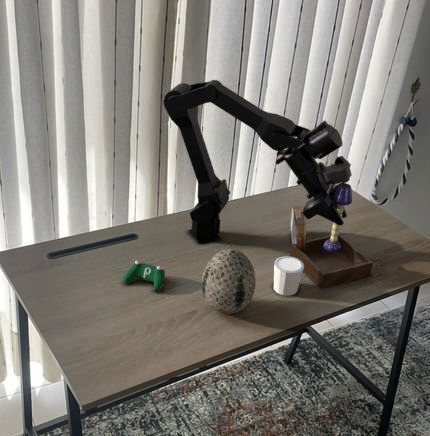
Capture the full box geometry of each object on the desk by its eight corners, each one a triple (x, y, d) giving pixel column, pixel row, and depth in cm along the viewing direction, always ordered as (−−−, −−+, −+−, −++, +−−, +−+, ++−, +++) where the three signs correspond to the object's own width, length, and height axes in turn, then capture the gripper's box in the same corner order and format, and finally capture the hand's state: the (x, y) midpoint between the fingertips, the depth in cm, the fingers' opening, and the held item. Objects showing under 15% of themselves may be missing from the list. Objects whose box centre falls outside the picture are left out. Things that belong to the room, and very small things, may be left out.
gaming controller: (162, 294, 157) (170, 270, 157) (158, 291, 153) (165, 266, 154) (126, 285, 159) (133, 261, 159) (121, 281, 155) (129, 257, 156)
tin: (304, 258, 170) (309, 229, 165) (291, 257, 169) (296, 228, 164) (299, 227, 182) (303, 200, 177) (287, 226, 182) (292, 199, 177)
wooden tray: (321, 288, 160) (323, 274, 158) (289, 257, 170) (291, 243, 168) (369, 275, 165) (373, 262, 163) (336, 246, 176) (339, 233, 173)
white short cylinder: (280, 300, 155) (284, 275, 151) (265, 284, 160) (268, 259, 156) (305, 293, 158) (310, 268, 154) (289, 277, 162) (293, 253, 158)
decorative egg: (192, 298, 153) (195, 242, 144) (239, 289, 157) (245, 234, 148) (211, 329, 145) (216, 271, 136) (260, 319, 149) (268, 262, 140)
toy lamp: (319, 242, 166) (331, 181, 156) (336, 240, 167) (349, 179, 157) (327, 253, 162) (340, 191, 152) (345, 251, 163) (359, 189, 153)
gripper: (325, 167, 144) (366, 223, 148) (342, 135, 158) (378, 188, 162) (285, 191, 150) (324, 245, 154) (304, 159, 164) (340, 209, 169)
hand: (343, 220), depth 160 cm, fingers closed on toy lamp, 3 cm apart
